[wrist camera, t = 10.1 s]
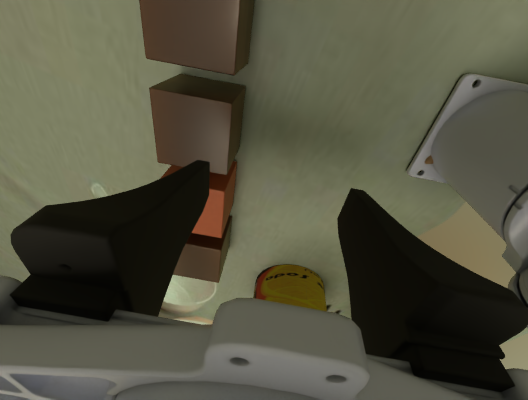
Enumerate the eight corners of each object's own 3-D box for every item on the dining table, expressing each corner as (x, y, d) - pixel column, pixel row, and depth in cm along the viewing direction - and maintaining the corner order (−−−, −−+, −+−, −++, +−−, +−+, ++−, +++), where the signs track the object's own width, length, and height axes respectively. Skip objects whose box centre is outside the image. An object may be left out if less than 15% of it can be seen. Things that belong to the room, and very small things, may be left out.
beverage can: (271, 255, 29) (260, 370, 20) (337, 279, 31) (357, 397, 21) (246, 293, 34) (227, 399, 25) (303, 312, 36) (307, 420, 26)
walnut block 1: (257, -30, 15) (244, -50, 11) (248, 63, 18) (234, 75, 14) (175, -47, 15) (130, -73, 11) (179, 50, 18) (145, 58, 14)
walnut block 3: (232, 215, 26) (221, 250, 22) (229, 247, 29) (218, 283, 25) (186, 207, 26) (166, 240, 22) (187, 239, 29) (170, 274, 25)
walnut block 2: (245, 85, 18) (232, 103, 14) (239, 146, 21) (227, 175, 17) (180, 73, 18) (148, 87, 14) (183, 136, 21) (157, 162, 17)
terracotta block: (233, 204, 25) (221, 238, 21) (185, 195, 25) (164, 228, 21) (237, 161, 22) (224, 191, 18) (183, 151, 22) (158, 179, 18)
